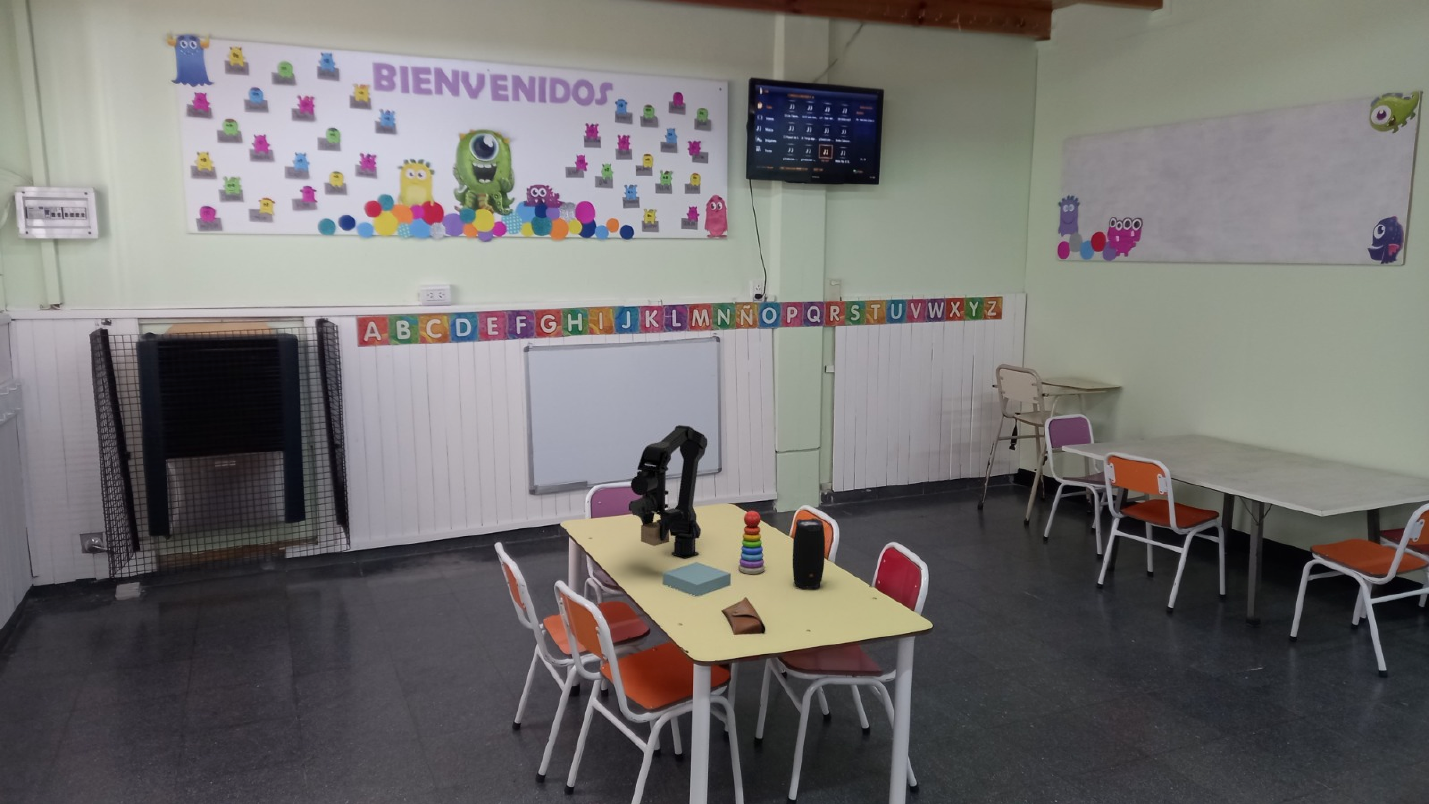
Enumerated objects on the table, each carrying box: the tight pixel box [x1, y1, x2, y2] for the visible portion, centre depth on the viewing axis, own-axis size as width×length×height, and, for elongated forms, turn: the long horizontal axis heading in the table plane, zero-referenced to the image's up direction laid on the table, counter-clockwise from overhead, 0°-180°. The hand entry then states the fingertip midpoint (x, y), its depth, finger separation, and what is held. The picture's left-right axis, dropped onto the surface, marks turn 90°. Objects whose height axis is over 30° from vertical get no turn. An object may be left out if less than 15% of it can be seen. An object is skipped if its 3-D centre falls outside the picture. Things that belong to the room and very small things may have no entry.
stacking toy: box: [738, 510, 766, 575], centre depth 290 cm, size 8×8×19 cm
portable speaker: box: [792, 518, 826, 590], centre depth 278 cm, size 9×9×20 cm
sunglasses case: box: [721, 597, 766, 636], centre depth 251 cm, size 18×7×7 cm
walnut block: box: [640, 521, 670, 547], centre depth 285 cm, size 6×6×5 cm
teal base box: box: [662, 561, 732, 597], centre depth 278 cm, size 14×14×4 cm
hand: (655, 538), depth 285 cm, fingers closed on walnut block, 6 cm apart
